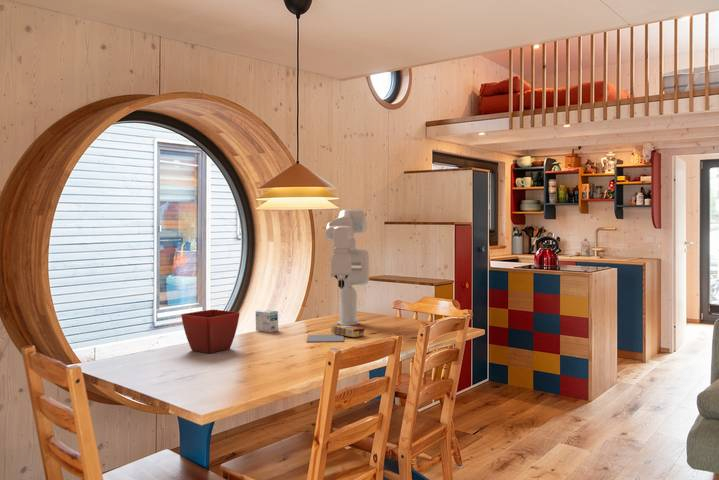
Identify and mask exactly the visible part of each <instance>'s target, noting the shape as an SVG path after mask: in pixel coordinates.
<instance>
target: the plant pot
mask: <svg viewBox="0 0 719 480" xmlns="http://www.w3.org/2000/svg"><path fill="white" fill-rule="evenodd" d="M180 316H181V321H182V326H183V330H184V333H185V336H186V340H187V343H188V345H189V347H190V349H191V351H194V352H195V351H196V352H199V353H205V354H206V353H207V354H212V353H216V352H221V351H227V350H230V349H231V346H232V344H233V341H234V339H235V337H236V332H237V329H238V326H239V325H238V324H239V319H240V312H238V311H231V310H222V309H209V310H208V309H206V310H201V311H193V312H188V313H182V314H180Z"/></svg>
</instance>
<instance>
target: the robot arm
mask: <svg viewBox="0 0 719 480" xmlns="http://www.w3.org/2000/svg"><path fill="white" fill-rule="evenodd" d="M366 230H367V218H366V214H365V212H364V210H362V209H359V208H357V209H356V208H355V209H349V208H348V209H343V210H341V211H340V212H339V213H338V217H337V218H334V219H332V220H331V221H329V222H328V223H327V225H326V228H325V233H324V234H325V235H324V236H325V238H326V239H327V240H328V241H332V243H333V244H332V245H333V246H332V250H333V253H332V254H331V260H330V277H332V278H335V280H337V281H338V282H337V283H338V284H337V285H338V286H337V287H339V320H338V321H336V323H337V325H347V326H356V325H359V324H360V320H358V318H357V317H358V312H357V311H358V309H357V306H358V305H357V304H358V301H357V297H358V296H357V295H358V294H357V290H356V289H355V288H354V286H365V285H367V284H369V281H370V258H369V257H370V256H369V252H368V251H367V250H366V249H363V248H357V245H356V244H357V242H356V238H355V236H354V234H362V233H365V232H366ZM352 266H353V267H352ZM355 266H356V267H355Z"/></svg>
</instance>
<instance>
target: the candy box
mask: <svg viewBox="0 0 719 480" xmlns="http://www.w3.org/2000/svg"><path fill="white" fill-rule="evenodd" d="M330 327H331V329H330V333H331V334H333V335H336V334H339V335H344V337H352V338H356V337H365V331H366V330H365V327H360V326H355V325H340V324H337V325H336V324H334V325H331V326H330Z"/></svg>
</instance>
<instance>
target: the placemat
mask: <svg viewBox="0 0 719 480" xmlns="http://www.w3.org/2000/svg"><path fill="white" fill-rule="evenodd" d="M344 338H345V335H339V334H308V336H307V338H306V343H343V342H345V339H344Z"/></svg>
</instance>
